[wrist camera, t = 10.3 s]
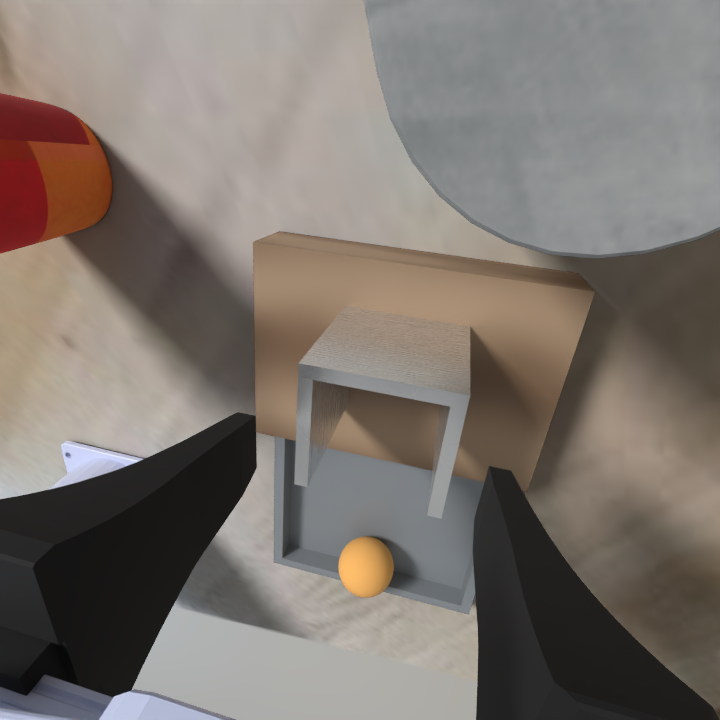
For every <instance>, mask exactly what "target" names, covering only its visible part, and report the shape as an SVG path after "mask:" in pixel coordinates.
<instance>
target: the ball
mask: <svg viewBox="0 0 720 720" xmlns="http://www.w3.org/2000/svg"><path fill="white" fill-rule="evenodd" d="M338 568H339V575H340V578H341V581H342V583H343V584H344V586H345V587H346V588H347V589H348V590H349V591H350V592H351V593H353V594H354V595H356V596H359V597H373V596H376V595H378V594H380V593H381V592H383V591H384V590H385V589H386V588H387V586H388V585H389V583H390V581H391V579H392V576H393V571H394V564H393V558H392V555H391V553H390V551H389V549H388V548H387V547H386V545H385V544H384V543H382V542H381V541H380V540H378V539H376V538H373V537H367V536H364V537H359V538H356V539H354V540H352V541H351V542H349V543H348V544H347V545H346V547H345V548H344V549H343V551H342V553H341V555H340V558H339V565H338Z"/></svg>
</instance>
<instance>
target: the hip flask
mask: <svg viewBox="0 0 720 720" xmlns="http://www.w3.org/2000/svg"><path fill="white" fill-rule="evenodd" d="M364 5H365V10H366V16H367V21H368V27H369V32H370V38H371V43H372V49H373V55H374V60H375V66H376V71H377V75H378V78H379V81H380V85H381V88H382V92H383V95H384V99H385V102H386V105H387V109H388V112H389V116H390V119H391V121H392V123H393V125H394V127H395V129H396V131H397V133H398V135H399V137H400V139H401V141H402V143H403V145H404V147H405V149H406V151H407V153H408V155H409V157H410V159H411V161H412V162H413V164H414V165H415V166H416V167H417V169H418V170H419V171H420V173H421V174H422V175H423V176H424V178H425V179H426V180H427V181H428V183H429V184H430V185H431V186H432V188H433V189H434V190H435V192H436V193H437V194H438V195H439V196H440V197H441V198H442V199H443V200H444V201H446V202H447V203H448V204H449V205H450V206H452V207H453V208H454V209H455V210H456V211H458V212H459V213H460V214H461V215H462V216H464V217H465V218H466V219H467V220H468V221H470V222H471V223H472V224H474V225H476V226H478V227H480V228H482V229H484V230H485V231H487V232H489V233H491V234H493V235H495V236H497V237H499V238H501V239H503V240H504V241H506V242H508V243H511V244H515V245H518V246H522V247H525V248H529V249H532V250H536V251H539V252H543V253H546V254H550V255H560V256H572V257H584V258H607V257H617V256H627V255H638V254H646V253H650V252H654V251H657V250H661V249H665V248H669V247H672V246H676V245H680V244H683V243H687V242H691V241H695V240H698V239H700V238H702V237H705V236H707V235H709V234H712V233H714V232H716V231H718V230H720V0H364Z"/></svg>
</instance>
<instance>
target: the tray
mask: <svg viewBox="0 0 720 720" xmlns="http://www.w3.org/2000/svg"><path fill="white" fill-rule="evenodd" d="M295 451H296V441H294V440H289V439H285V438H280V437H276V436H275V473H274V563H278V564H282V565H286V566H289V567H293V568H297V569H300V570H304V571H308V572H312V573H315V574H319V575H323V576H327V577H330V578H334V579H338V580H341V578H340V575H339V568H338V565H339V558H340V555H341V553H342V551H343V549H344V548H345V547H346V545H347V544H348V543H349V542H351V541H352V540H354V539H356V538H359V537H364V536H367V537H373V538H376V539H378V540H380V541H381V542H382V543H384V544H385V545H386V547H387V548H388V549H389V551H390V553H391V555H392V558H393V564H394V571H393V576H392V579H391V581H390V583H389V585H388V586H387V588H386V589H385V590H384V591H383V592H386V593H390V594H394V595H398V596H401V597H405V598H409V599H412V600H416V601H420V602H424V603H427V604H431V605H435V606H439V607H442V608H446V609H450V610H454V611H457V612H461V613H465V614H468V615H469V612H470V609H471V606H472V603H473V600H474V596H475V580H474V565H473V533H474V518H475V514H476V511H477V507H478V504H479V500H480V496H481V493H482V489H483V486H484V482H481V481H476V480H472V479H467V478H463V477H458V476H453V475H451V480H450V484H449V488H448V492H447V497H446V501H445V505H444V509H443V514H442V518H441V519H440V518H436V517H431V516H427V511H428V503H429V494H430V486H431V477H432V471H431V470H426V469H422V468H417V467H412V466H408V465H403V464H399V463H394V462H390V461H385V460H381V459H376V458H371V457H367V456H362V455H358V454H353V453H349V452H344V451H340V450H335V449H330V448H326V450H325V452H324V454H323V456H322V458H321V460H320V462H319V464H318V466H317V468H316V470H315V472H314V475H313V477H312V479H311V481H310V483H309V485H308V487H304V486H300V485H296V484H294V480H295Z"/></svg>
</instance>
